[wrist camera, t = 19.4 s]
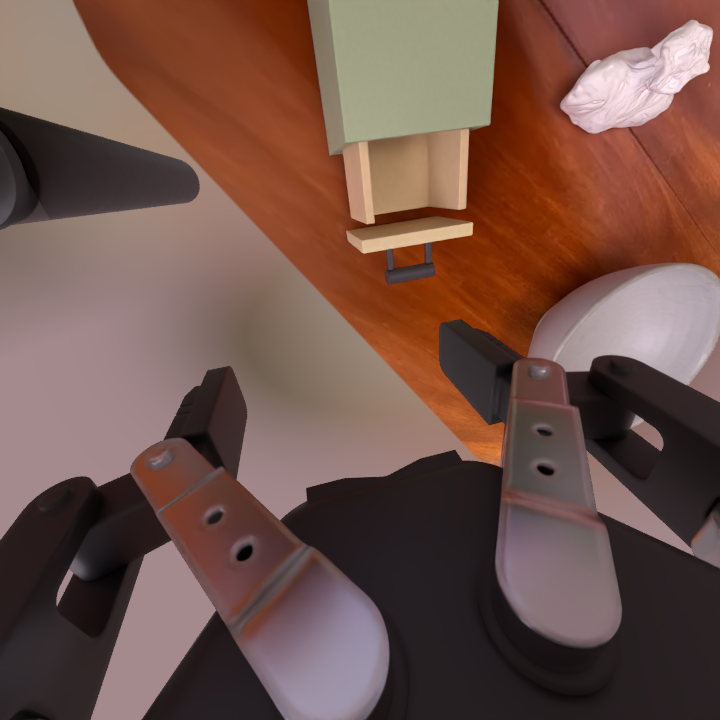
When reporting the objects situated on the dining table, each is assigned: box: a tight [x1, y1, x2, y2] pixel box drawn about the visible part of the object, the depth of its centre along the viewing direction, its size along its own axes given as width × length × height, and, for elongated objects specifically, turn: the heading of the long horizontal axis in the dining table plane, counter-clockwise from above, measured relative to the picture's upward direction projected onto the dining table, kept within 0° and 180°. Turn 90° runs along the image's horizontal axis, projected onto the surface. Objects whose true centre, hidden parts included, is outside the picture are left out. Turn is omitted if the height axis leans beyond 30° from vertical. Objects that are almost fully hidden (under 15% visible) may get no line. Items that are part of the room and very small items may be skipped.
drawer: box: [343, 128, 473, 285], centre depth 32 cm, size 18×11×9 cm, turn 8°
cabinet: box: [307, 0, 499, 156], centre depth 27 cm, size 15×13×11 cm
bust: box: [560, 20, 713, 134], centre depth 33 cm, size 12×8×11 cm
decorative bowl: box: [527, 263, 720, 429], centre depth 47 cm, size 27×27×12 cm
